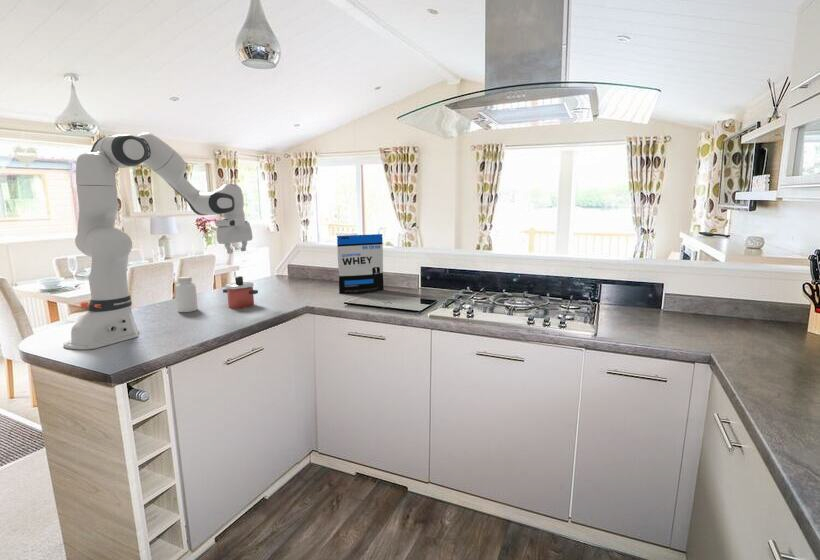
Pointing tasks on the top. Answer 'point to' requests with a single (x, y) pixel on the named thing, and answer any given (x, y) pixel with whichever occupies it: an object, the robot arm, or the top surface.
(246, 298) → the pot
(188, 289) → the pill bottle
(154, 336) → the top surface
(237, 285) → the lid
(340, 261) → the protein powder
